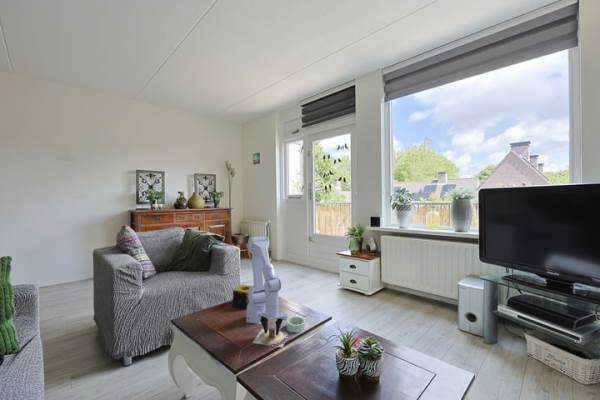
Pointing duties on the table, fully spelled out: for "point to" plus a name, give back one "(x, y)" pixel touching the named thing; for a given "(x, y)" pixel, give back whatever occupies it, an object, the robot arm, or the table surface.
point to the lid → (271, 337)
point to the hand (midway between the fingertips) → (271, 333)
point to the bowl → (296, 324)
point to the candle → (241, 296)
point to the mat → (257, 340)
